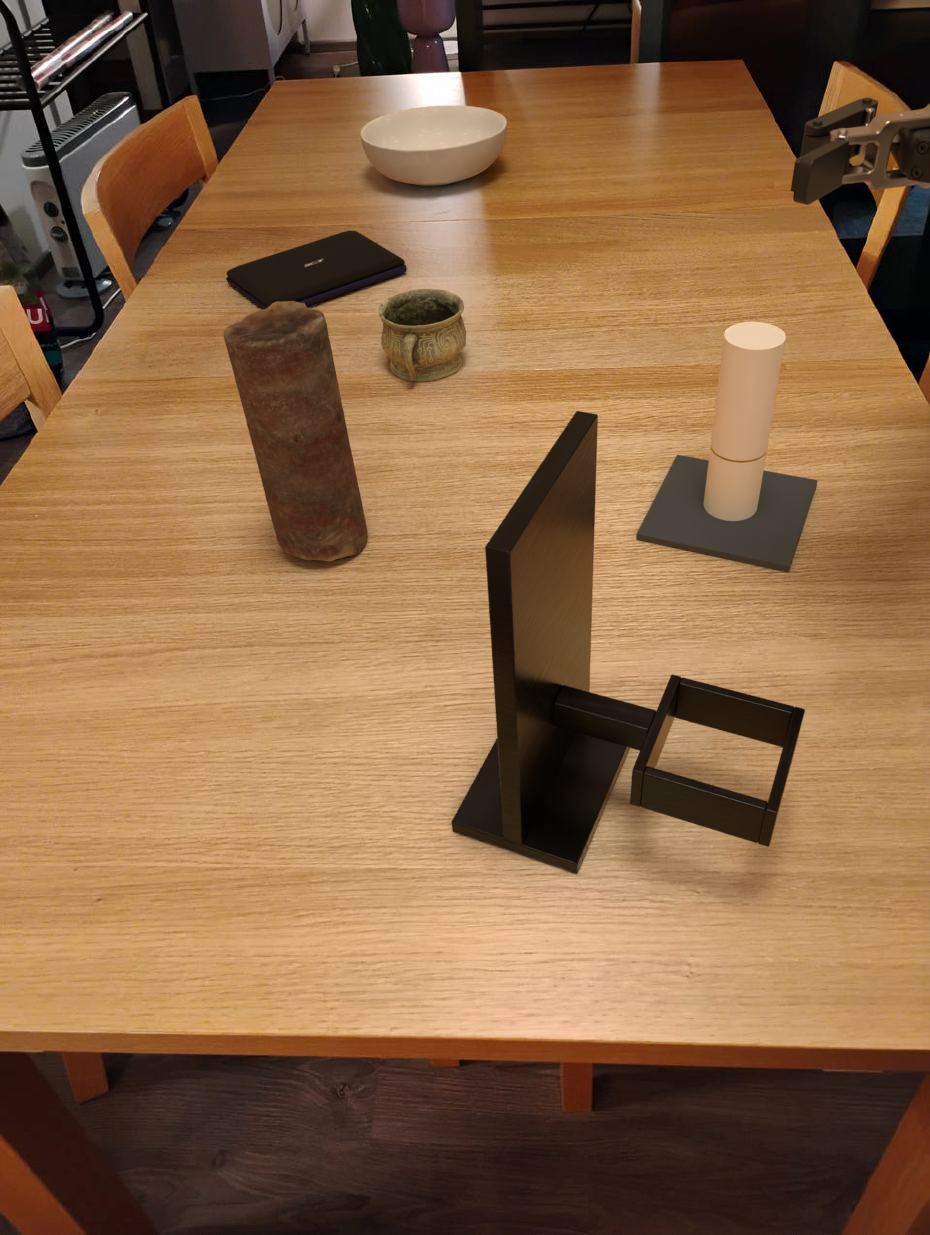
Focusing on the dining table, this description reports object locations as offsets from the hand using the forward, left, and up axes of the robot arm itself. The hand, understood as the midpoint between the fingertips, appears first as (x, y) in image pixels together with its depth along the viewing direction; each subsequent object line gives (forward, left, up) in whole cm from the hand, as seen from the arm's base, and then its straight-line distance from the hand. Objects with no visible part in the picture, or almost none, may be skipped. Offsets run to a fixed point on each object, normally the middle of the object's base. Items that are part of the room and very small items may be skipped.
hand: (882, 201), depth 47 cm
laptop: (+65, -46, -32) cm, 86 cm away
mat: (+8, -16, -32) cm, 36 cm away
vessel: (+43, -31, -32) cm, 62 cm away
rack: (+7, +15, -32) cm, 35 cm away
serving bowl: (+66, -82, -32) cm, 110 cm away
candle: (+38, -1, -32) cm, 49 cm away
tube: (+7, -17, -31) cm, 36 cm away
